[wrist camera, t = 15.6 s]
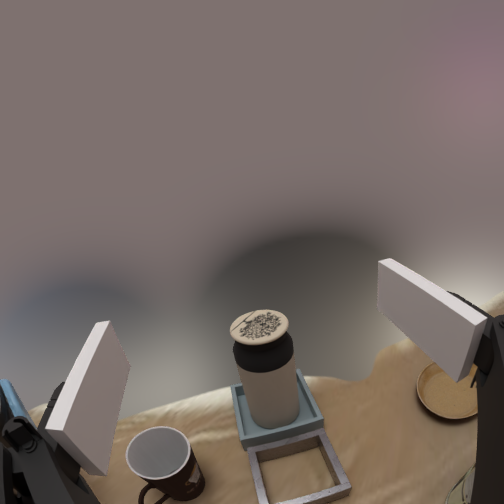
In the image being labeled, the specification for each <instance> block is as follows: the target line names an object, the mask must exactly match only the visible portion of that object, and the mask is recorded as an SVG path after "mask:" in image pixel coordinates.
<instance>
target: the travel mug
mask: <svg viewBox="0 0 504 504" xmlns="http://www.w3.org/2000/svg"><path fill="white" fill-rule="evenodd" d="M287 328H288V320H287V318H286V317H285V316H284V315H283V314H282V313H280V312H277V311H273V310H258V311H253V312H250V313H247V314H245V315H242V316H240V317H239V318H238V319H236V320H235V321H234V322H233V324H232V325H231V328H230V333H231V336H232V337H233V339H235V343H234V346H233V352H234V356H235V360H236V364H237V368H238V371H239V375H240V379H241V382H242V386H243V389H244V393H245V396H246V400H247V403H248V407H249V410H250V414H251V417H252V419H253V421H254V422H255V423H256V424H257V425H259V426H261V427H264V428H268V429H276V428H280V427H284V426H287V425H289V424H290V423H292V422H293V421H294V420H295V419H296V418H297V416H298V414H299V410H300V407H299V397H298V387H297V377H296V368H295V359H294V350H293V341H292V338H291V336H290V335H289V334H288V333H287V331H286V330H287Z"/></svg>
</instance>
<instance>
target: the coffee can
mask: <svg viewBox="0 0 504 504" xmlns="http://www.w3.org/2000/svg"><path fill="white" fill-rule="evenodd" d="M475 465H476V462H475V464H474V465H473V466H472V467H471V468H470V469H469V471H468V472H467V473H466V474H465V475H464V476H463V477H462V478H461V479H460V480H459V481H458V482H457V483H456V484H455V485H454V486H453V488H452V489H451V491H450V492H449V494H448V496H447V498H446V502H445V504H470V501H471V495H472V489H473V482H474V474H475Z"/></svg>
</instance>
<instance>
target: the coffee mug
mask: <svg viewBox="0 0 504 504" xmlns="http://www.w3.org/2000/svg"><path fill="white" fill-rule="evenodd" d="M126 461H127V464H128V466H129V468H130V469H131V470H132V471H133V472H134V473H135V474H137V475H138V476H139V477H141V478H142V479H144V480H145V481H147V482H148V484H147V485H146V486H145V487H144V488H143V489H142V490H141V492H140V495H139V500H138V504H144V496H145V494H146V492H147V491H148V490H149V489H151V488H157V489H159V490H160V491H162V492H163V493H165V495H164V496H163V497H162V498H161V499H160V500H159V501H157V502H156V503H155V504H162V503H163V502H164V501H165V500H166V499H168V498H169V497H171V498H173V499H175V500H179V501H188V500H192V499H194V498H196V497H198V496H199V495H200V494H201V493H202V491H203V489H204V487H205V480H204V477H203V475H202V472H201V470H200V468H199V465H198V463H197V461H196V458H195V456H194V453H193V451H192V448H191V446H190V443H189V441H188V439H187V437H186V436H185V435H184V434H183V433H182V432H180V431H179V430H177V429H175V428H171V427H166V426H158V427H152V428H149V429H146V430H144V431H142V432H140V433H139V434H137V435H136V436H135V437H134V438H133V439H132V440H131V442H130V443H129V445H128V447H127V450H126Z"/></svg>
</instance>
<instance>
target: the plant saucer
mask: <svg viewBox="0 0 504 504" xmlns="http://www.w3.org/2000/svg"><path fill="white" fill-rule="evenodd" d="M477 368H478V367H477V366H476V365H475V364H474V363H473V365H472V368H471V370H470V373H469V375H468V376H466V377H465V378H463V379H462V380H461V381H459V382H458V383H456V382H455V381H454V380H453V379H452V378H451V377H450V376H449V375H448V374H447V373H446V372H445V371H444V370H443V369H441V368H440V367H439V366H438V365H437V364H436V363H435V362H434V361H433V362H432V363H430V364H429V365H427V366H426V367H425V368H424V369H423V370H422V371H421V373H420V375H419V377H418V380H417V392H418V395H419V398H420V399H421V401H422V403H423V404H424V405H425V406H426V408H428V409H429V410H430V411H431V412H432V413H434V414H436V415H438V416H440V417H443V418H448V419H462V418H466V417H469V416H472V415H474V414H476V413H478V408H477V388H476V382H475V383H474V385H473V388H470V386H471V382H472V380H473V378H474V375H475V373H476V370H477Z"/></svg>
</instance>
